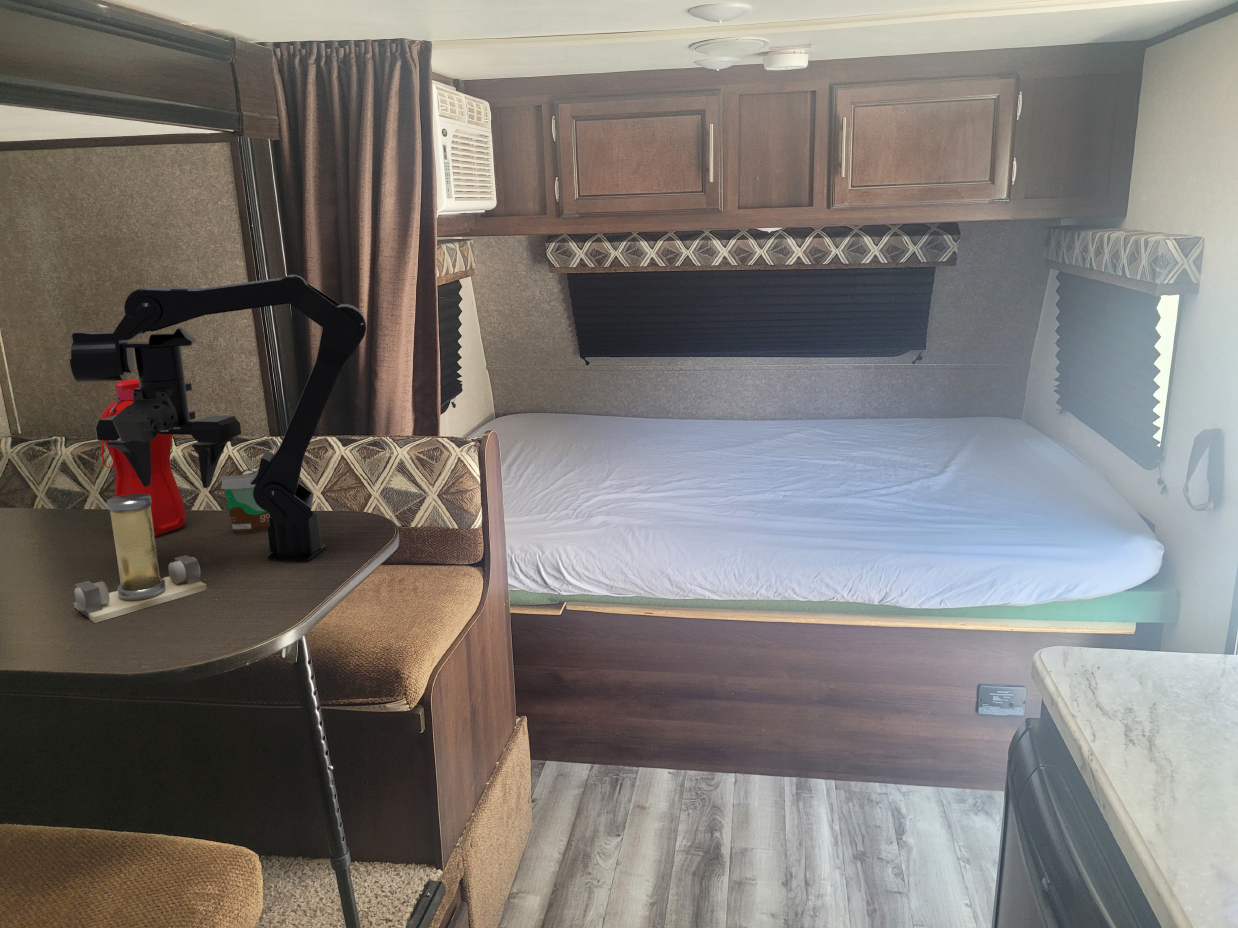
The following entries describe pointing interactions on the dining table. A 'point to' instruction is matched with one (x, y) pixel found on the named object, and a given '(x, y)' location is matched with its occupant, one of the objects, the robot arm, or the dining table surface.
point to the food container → (244, 503)
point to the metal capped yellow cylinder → (135, 547)
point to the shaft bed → (107, 605)
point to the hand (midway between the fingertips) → (176, 486)
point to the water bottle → (163, 485)
